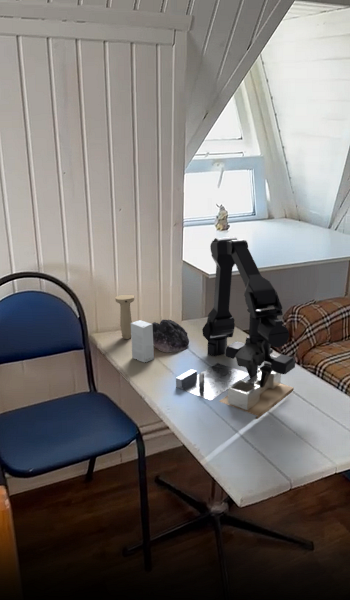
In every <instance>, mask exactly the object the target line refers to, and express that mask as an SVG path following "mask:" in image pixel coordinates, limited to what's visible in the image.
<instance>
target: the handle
mask: <svg viewBox="0 0 350 600" xmlns="http://www.w3.org/2000/svg"><path fill="white" fill-rule="evenodd" d="M114 299H115V300H114V301H115V302H116V303H117V304H119V305H120V306H119V309H120V310H119V311H120V314H119V315H120V319H119V320H120V322H119V323H120V331H121V337H122V339H123V340H129V339H131V323H133V320H132V311H131V310H132V309H131V303H133V302H134V301H135V295H134V294H121V295H120V294H119V295H116V296H115V297H114Z"/></svg>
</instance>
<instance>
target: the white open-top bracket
mask: <svg viewBox="0 0 350 600" xmlns="http://www.w3.org/2000/svg"><path fill="white" fill-rule="evenodd" d="M281 380H282V374H280V373H277V372H274V371H272V372H271V374H270V376H269V378H268V380H267V382H266V384H265V386H264V387H263V388H262V387H261V370H260V369H259V368H258V369H257V375H255V376H254V377H252V378H251V379H250V378H249V379H248V380H244V379H242V380H239V381H238V382H236V383H235V384H233V385H232V386H230V387H229V388H228V389H227V395H228V403H229V404H232V405H234V406H237V407H240V408H242V409H245V410H248V409H250V408H251V407H252V406H254V405H255V404H256V403H258V402H259V401H260V394H261V393H263V392H264V391H265V390H267V389H268V388H271V389H274V388H275V387H277V386H278V385H279V384H280V383H281Z"/></svg>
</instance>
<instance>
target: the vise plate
mask: <svg viewBox="0 0 350 600" xmlns="http://www.w3.org/2000/svg"><path fill="white" fill-rule="evenodd" d="M247 377H249V374H248V371H247V372H246V371H243V370H241V369H238V368H234V367H231V366H228V365H225V364H223V363H218V362H217V363H215V364H213V365H211V366H210V367H208V368H207V369H205V370H203V371H202V372H199V373H198V371H197V370H195V369H193V368H191V369H188V370H187V371H186V372H184V373H181V374H180V375H179V376H176V377H175V387H176V388H177V389H179V390H182V391H183V392H187V393H190V394H192V395H195V396H198V397H200V398H202V399H205V400H208V401H210V402H211V401H212V400H214V399H215V398H217V397H218V396H220V395H221V394H223V393H224V392H226V391H228V388H229V387H230V386H232V385H233V384H235V383H236V382H238V381H239V380H244V379H245V378H247ZM176 388H175V389H176Z"/></svg>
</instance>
